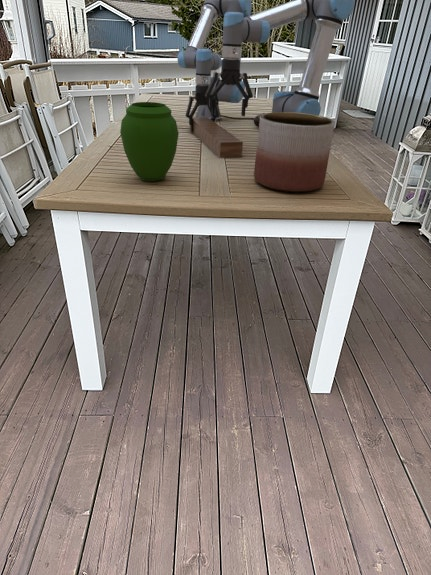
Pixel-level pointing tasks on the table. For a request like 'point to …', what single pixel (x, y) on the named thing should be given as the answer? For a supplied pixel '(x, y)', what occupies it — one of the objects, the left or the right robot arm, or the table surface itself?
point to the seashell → (257, 119)
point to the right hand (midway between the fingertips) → (228, 116)
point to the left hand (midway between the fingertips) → (201, 131)
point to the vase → (149, 139)
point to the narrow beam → (217, 138)
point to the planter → (293, 151)
